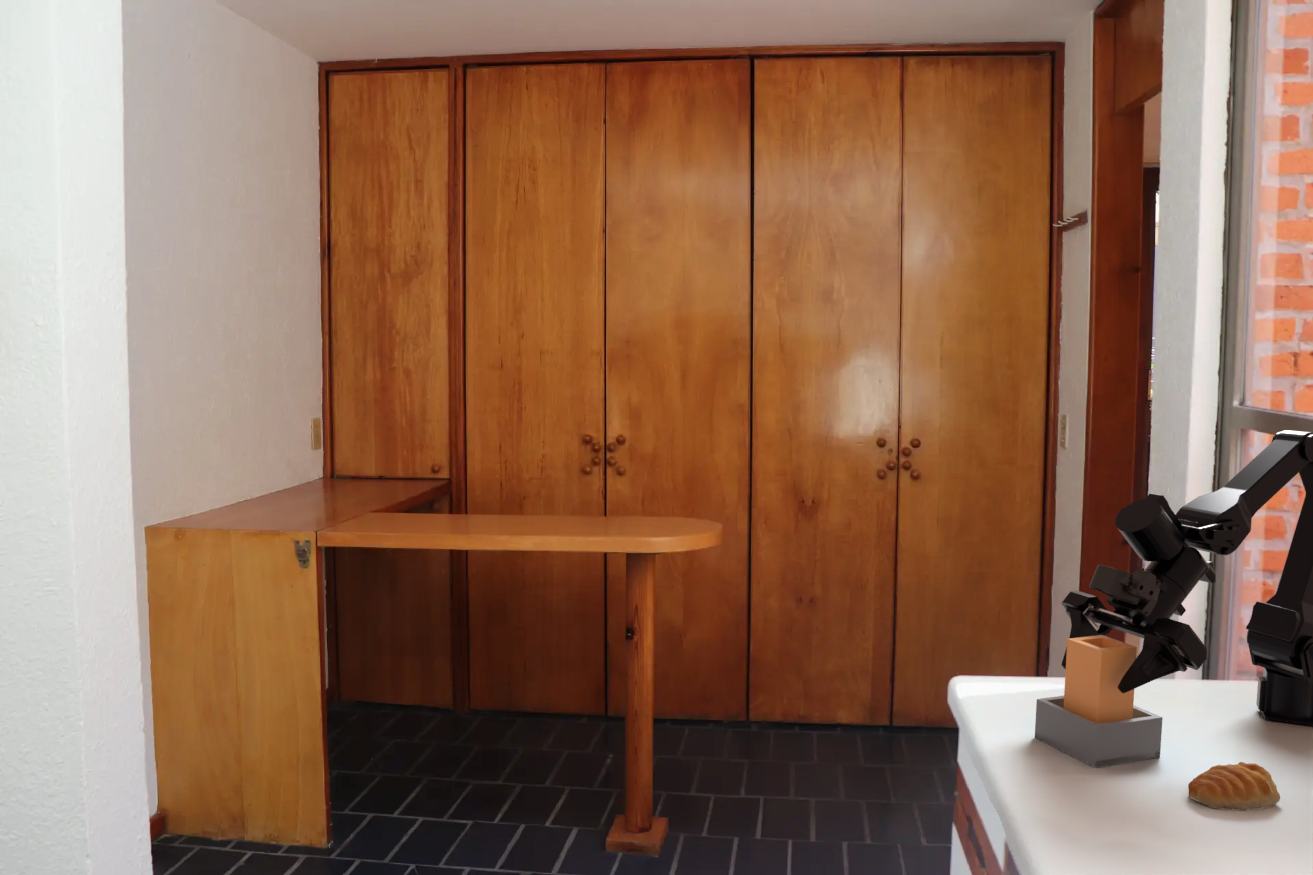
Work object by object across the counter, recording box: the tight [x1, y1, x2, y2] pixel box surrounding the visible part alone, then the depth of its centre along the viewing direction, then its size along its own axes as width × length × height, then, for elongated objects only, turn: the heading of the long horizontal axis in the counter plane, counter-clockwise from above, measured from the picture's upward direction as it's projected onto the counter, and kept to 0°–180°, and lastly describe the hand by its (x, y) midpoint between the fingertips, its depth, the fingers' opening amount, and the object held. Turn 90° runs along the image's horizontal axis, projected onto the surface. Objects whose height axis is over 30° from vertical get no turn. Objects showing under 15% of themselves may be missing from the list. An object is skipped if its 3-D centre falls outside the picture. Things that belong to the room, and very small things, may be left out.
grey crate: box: [1034, 695, 1163, 769], centre depth 130 cm, size 10×10×5 cm
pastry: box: [1187, 761, 1281, 811], centre depth 115 cm, size 9×7×4 cm
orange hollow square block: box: [1063, 635, 1138, 724], centre depth 129 cm, size 6×6×12 cm
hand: (1091, 678), depth 129 cm, fingers open, 9 cm apart
